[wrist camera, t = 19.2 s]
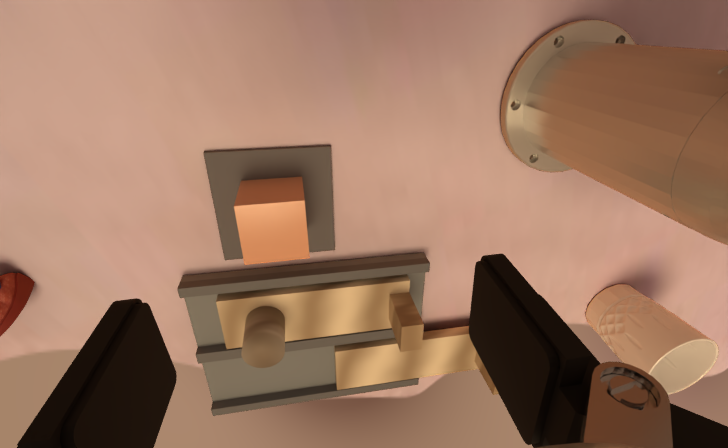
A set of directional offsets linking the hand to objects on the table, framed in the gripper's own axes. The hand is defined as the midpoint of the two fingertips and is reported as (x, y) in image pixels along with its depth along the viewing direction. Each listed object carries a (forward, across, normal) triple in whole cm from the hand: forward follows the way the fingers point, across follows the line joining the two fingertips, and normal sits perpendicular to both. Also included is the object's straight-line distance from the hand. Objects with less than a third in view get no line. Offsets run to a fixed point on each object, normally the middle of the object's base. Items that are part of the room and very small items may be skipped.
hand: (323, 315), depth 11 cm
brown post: (+20, +6, +17) cm, 27 cm away
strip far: (+22, -9, +26) cm, 35 cm away
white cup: (+24, -34, +25) cm, 49 cm away
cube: (+22, +4, +6) cm, 23 cm away
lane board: (+23, +2, +22) cm, 31 cm away
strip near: (+21, +1, +17) cm, 28 cm away
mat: (+22, +4, +6) cm, 24 cm away
